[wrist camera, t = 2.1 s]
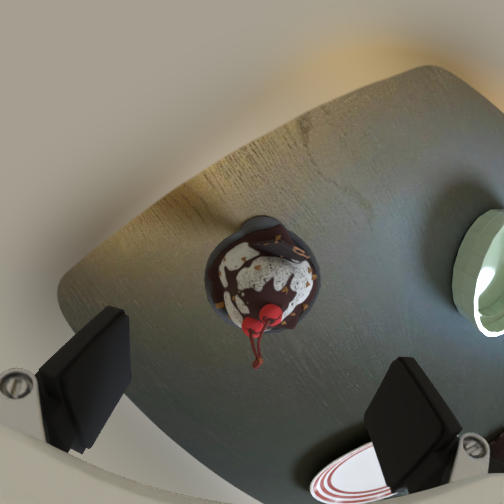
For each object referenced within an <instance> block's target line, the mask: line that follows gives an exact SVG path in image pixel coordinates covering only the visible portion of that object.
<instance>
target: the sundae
mask: <svg viewBox="0 0 504 504" xmlns="http://www.w3.org/2000/svg"><path fill="white" fill-rule="evenodd" d="M204 281H205V289H206V294H207V298H208V301H209V302H210V304H211V306H212V308H213V309H214V311H215V312H216V313H217V315H218V316H219V317H220V318H221V319H223V320H224V321H225V322H227V323H228V324H230V325H232V326H234V327H236V328H239V329H242V330H243V332H244V333H245V335H247V336H249V338H250V341H251V345H252V349H253V351H254V354H255V357H256V360H255V361H254V362H253V364H252V366H253V368H254V369H258V368H259V367H260V366H261V364H262V363H263V359H262V357H261V353H260V340H261V337H262V335H263V334H273V333H280V332H283V331H285V330H288V329H293V328H295V327H296V325H297V324H298V323H299V322H300V321H302V320H303V319H304V318H305V317H306V315H307V314H308V313H309V312H310V310H311V309H312V307H313V305H314V303H315V302H316V299H317V297H318V294H319V290H320V287H321V275H320V267H319V265H318V262H317V260H316V258H315V256H314V254H313V252H312V251H311V249H310V248H309V247H308V245H307V244H306V243H305V242H304V241H303V240H302V239H301V238H299V237H298V236H297V235H296V234H295V233H293V232H291V231H289V230H287V229H286V227H285V226H284V225H283V224H282V223H281V222H279V221H278V220H277V219H274V218H271V217H267V216H263V217H255V218H253V219H251V220H249V221H247V222H246V223H245V224H244V225H243V226H242V227H241V229H240V230H239V231H238V232H236V233H234V234H232V235H230V236H229V237H227V238H225V239H224V240H223V241H222V242H221V243H220V244H219V245H218V246H217V247H216V248H215V249H214V251H213V252H212V253H211V255H210V257H209V259H208V262H207V265H206V269H205V278H204ZM255 337H258V341H257V349H258V354H257V352H256V349H255V345H254V339H253V338H255Z"/></svg>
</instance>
